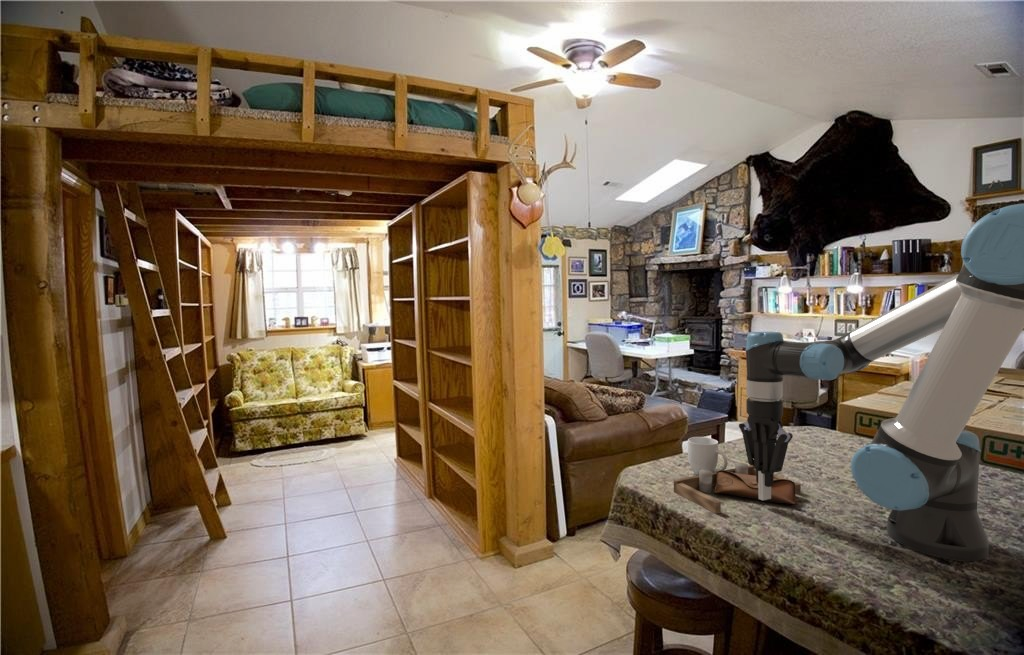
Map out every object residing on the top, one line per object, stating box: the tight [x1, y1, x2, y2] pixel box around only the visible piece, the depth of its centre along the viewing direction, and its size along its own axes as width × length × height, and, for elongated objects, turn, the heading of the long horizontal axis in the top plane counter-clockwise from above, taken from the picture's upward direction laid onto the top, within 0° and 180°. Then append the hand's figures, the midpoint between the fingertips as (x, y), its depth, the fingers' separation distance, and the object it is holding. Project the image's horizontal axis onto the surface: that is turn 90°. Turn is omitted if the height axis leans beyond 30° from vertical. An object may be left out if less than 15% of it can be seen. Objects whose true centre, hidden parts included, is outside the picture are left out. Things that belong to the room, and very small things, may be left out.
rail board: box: [673, 462, 802, 514], centre depth 122 cm, size 14×27×5 cm, turn 112°
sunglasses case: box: [714, 470, 797, 505], centre depth 120 cm, size 18×7×7 cm
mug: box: [687, 436, 728, 476], centre depth 134 cm, size 11×8×9 cm
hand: (764, 498), depth 114 cm, fingers closed
